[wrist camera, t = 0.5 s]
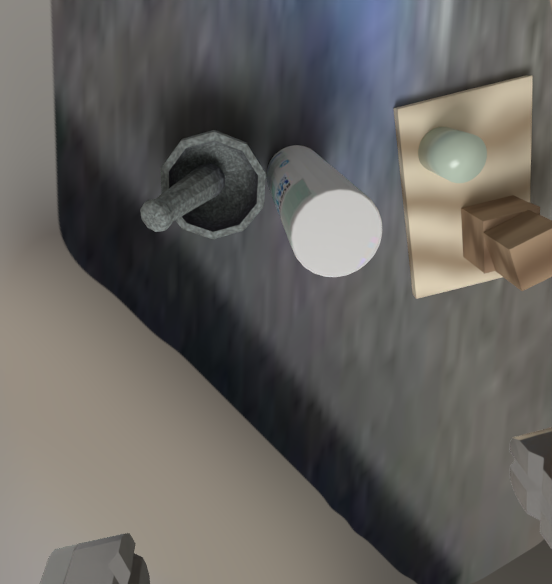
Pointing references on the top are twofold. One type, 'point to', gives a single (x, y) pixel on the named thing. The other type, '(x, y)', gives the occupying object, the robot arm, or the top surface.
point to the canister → (452, 154)
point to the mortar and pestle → (208, 187)
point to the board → (453, 196)
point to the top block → (522, 249)
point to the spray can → (322, 213)
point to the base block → (488, 226)
